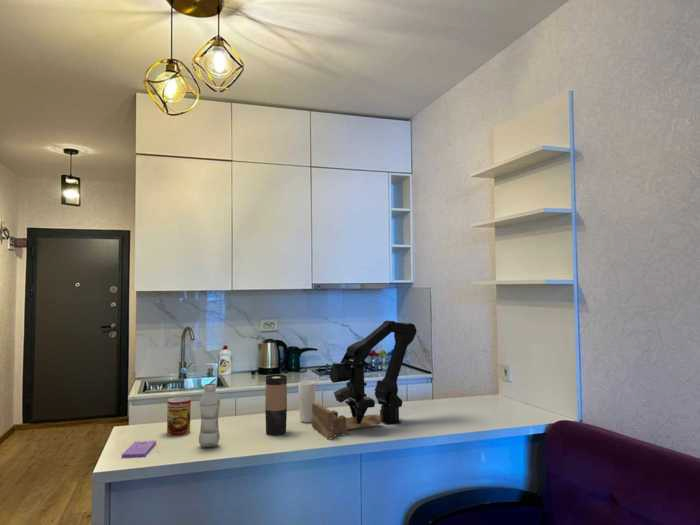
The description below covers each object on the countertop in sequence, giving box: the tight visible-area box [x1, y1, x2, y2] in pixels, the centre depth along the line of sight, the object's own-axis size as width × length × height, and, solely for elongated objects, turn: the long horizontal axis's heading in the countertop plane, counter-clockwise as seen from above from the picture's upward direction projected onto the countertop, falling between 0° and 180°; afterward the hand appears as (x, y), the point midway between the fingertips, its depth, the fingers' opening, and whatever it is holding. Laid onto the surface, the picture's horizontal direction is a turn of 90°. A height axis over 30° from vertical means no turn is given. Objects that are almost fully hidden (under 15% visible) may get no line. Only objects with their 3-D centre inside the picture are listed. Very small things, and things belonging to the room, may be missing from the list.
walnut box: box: [311, 402, 347, 440], centre depth 178 cm, size 8×16×9 cm, turn 23°
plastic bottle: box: [198, 383, 221, 448], centre depth 163 cm, size 6×7×20 cm
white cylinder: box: [297, 380, 317, 424], centre depth 193 cm, size 7×7×15 cm
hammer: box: [333, 413, 382, 429], centre depth 182 cm, size 19×6×5 cm, turn 113°
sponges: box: [121, 440, 157, 459], centre depth 158 cm, size 7×13×2 cm, turn 7°
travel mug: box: [264, 374, 288, 437], centre depth 178 cm, size 8×8×20 cm
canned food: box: [166, 396, 192, 437], centre depth 178 cm, size 8×8×12 cm
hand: (357, 422), depth 182 cm, fingers closed on hammer, 3 cm apart
